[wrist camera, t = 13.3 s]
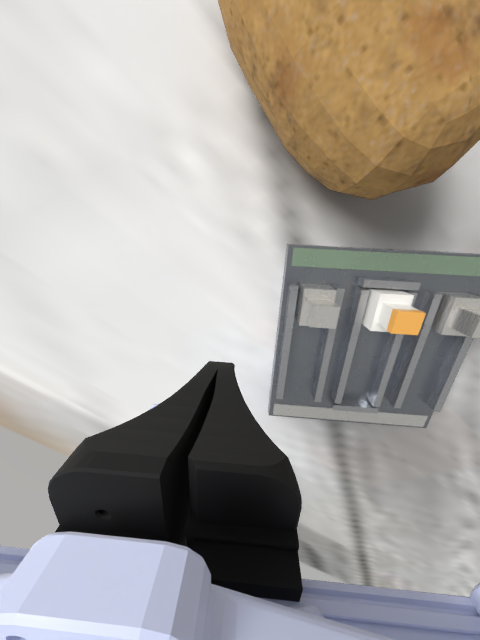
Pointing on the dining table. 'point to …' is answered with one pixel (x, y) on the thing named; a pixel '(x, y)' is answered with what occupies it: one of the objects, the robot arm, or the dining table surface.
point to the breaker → (392, 312)
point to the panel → (370, 334)
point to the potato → (364, 85)
